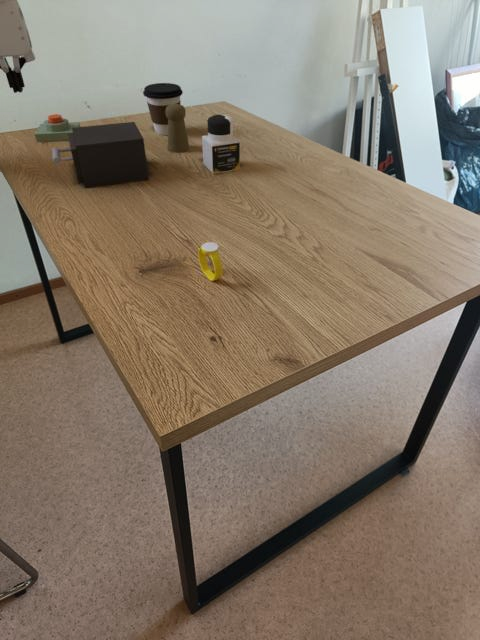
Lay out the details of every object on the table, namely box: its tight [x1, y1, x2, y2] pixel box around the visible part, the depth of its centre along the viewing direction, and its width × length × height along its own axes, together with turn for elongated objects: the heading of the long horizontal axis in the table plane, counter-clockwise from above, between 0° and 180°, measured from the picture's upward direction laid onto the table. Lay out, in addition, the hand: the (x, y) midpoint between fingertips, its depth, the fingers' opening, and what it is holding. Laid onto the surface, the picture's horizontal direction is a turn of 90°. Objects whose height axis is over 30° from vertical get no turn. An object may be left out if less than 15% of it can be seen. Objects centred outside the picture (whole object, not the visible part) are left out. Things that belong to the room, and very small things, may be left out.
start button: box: [47, 113, 63, 124], centre depth 127 cm, size 4×4×2 cm
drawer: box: [51, 133, 84, 185], centre depth 105 cm, size 18×11×8 cm, turn 109°
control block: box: [34, 117, 81, 143], centre depth 128 cm, size 11×9×4 cm
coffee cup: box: [142, 82, 184, 136], centre depth 129 cm, size 11×11×12 cm
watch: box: [197, 241, 223, 282], centre depth 75 cm, size 6×3×6 cm, turn 32°
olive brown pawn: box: [165, 103, 190, 153], centre depth 119 cm, size 6×6×11 cm
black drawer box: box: [72, 121, 150, 189], centre depth 106 cm, size 15×13×10 cm
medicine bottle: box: [201, 114, 241, 175], centre depth 109 cm, size 7×7×12 cm
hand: (18, 90), depth 102 cm, fingers closed
